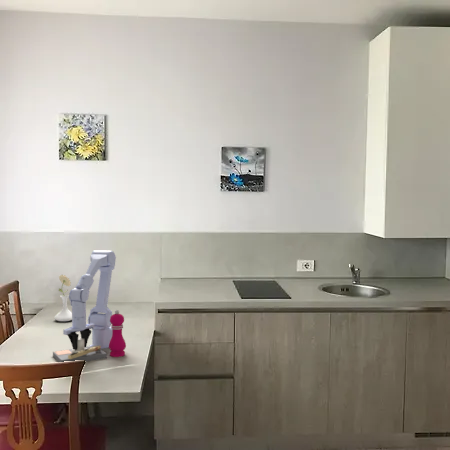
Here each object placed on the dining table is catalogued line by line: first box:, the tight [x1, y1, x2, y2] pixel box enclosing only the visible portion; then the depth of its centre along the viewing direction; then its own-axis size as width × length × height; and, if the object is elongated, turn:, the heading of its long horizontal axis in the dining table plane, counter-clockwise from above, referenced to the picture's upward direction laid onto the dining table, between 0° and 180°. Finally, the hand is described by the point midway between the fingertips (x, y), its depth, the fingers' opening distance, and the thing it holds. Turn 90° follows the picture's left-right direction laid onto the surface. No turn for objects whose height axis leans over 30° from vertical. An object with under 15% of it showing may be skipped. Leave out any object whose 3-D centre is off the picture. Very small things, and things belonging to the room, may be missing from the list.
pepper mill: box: [108, 309, 127, 358], centre depth 244 cm, size 7×7×20 cm
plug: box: [71, 337, 87, 353], centre depth 241 cm, size 6×6×7 cm
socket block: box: [52, 346, 108, 363], centre depth 241 cm, size 19×14×3 cm
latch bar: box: [68, 345, 102, 359], centre depth 236 cm, size 17×2×1 cm, turn 148°
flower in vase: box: [53, 274, 72, 322], centre depth 311 cm, size 13×11×25 cm
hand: (79, 348), depth 241 cm, fingers closed on plug, 4 cm apart
